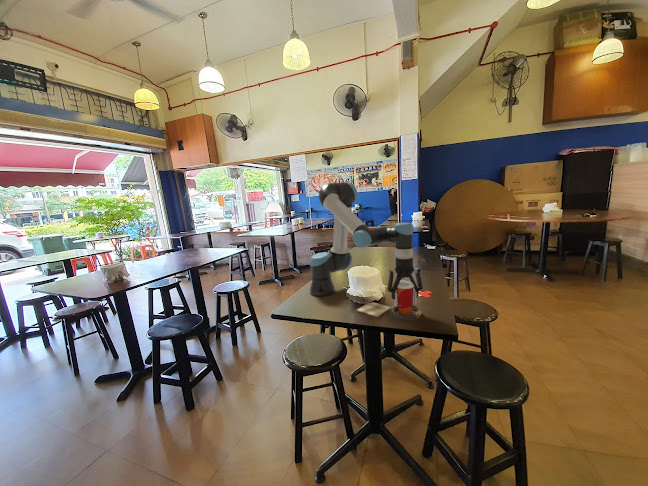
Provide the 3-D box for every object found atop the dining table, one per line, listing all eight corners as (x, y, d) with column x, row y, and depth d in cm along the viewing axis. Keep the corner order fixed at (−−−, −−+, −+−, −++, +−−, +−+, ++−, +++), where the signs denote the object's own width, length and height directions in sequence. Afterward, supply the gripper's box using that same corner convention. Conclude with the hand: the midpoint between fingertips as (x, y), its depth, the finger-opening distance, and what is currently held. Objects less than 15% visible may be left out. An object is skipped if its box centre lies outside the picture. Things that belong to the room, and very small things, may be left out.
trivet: (356, 310, 123) (356, 309, 123) (370, 302, 131) (370, 301, 131) (377, 317, 115) (377, 316, 115) (391, 308, 123) (391, 307, 123)
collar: (385, 314, 117) (385, 310, 116) (399, 305, 126) (399, 301, 125) (412, 322, 108) (412, 318, 107) (425, 312, 117) (425, 307, 116)
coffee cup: (400, 308, 122) (399, 278, 120) (417, 311, 117) (416, 281, 115) (393, 314, 116) (392, 284, 114) (410, 319, 111) (410, 286, 108)
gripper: (382, 260, 108) (384, 310, 112) (431, 257, 109) (431, 306, 112) (378, 257, 116) (380, 303, 120) (424, 253, 116) (424, 299, 120)
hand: (405, 304), depth 116 cm, fingers closed on coffee cup, 8 cm apart
